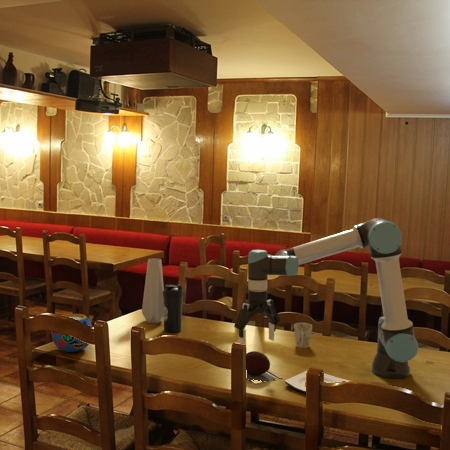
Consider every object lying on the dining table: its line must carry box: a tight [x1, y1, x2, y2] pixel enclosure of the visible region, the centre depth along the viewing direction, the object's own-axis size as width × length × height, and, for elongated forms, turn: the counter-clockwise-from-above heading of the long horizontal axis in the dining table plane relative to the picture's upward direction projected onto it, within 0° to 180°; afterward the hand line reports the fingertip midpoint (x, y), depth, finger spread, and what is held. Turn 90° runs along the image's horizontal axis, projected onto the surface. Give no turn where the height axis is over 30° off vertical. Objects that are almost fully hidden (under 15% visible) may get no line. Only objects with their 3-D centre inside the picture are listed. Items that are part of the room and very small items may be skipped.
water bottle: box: [163, 283, 185, 334], centre depth 281 cm, size 10×10×23 cm
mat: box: [246, 372, 277, 383], centre depth 225 cm, size 15×10×1 cm, turn 31°
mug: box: [293, 322, 313, 349], centre depth 261 cm, size 8×13×10 cm, turn 174°
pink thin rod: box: [267, 369, 284, 380], centre depth 229 cm, size 15×1×1 cm, turn 31°
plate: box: [284, 370, 348, 394], centre depth 216 cm, size 20×20×3 cm
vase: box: [141, 257, 165, 324], centre depth 295 cm, size 12×12×33 cm
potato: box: [245, 350, 271, 375], centre depth 225 cm, size 9×12×9 cm
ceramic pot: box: [51, 313, 93, 353], centre depth 248 cm, size 18×18×15 cm
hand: (257, 342), depth 224 cm, fingers open, 13 cm apart
